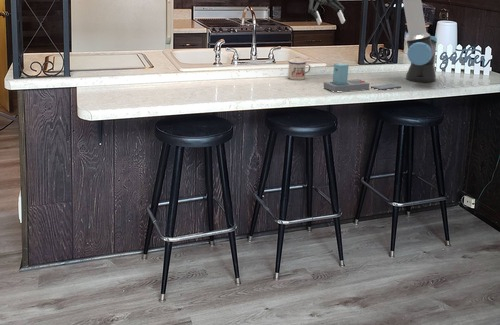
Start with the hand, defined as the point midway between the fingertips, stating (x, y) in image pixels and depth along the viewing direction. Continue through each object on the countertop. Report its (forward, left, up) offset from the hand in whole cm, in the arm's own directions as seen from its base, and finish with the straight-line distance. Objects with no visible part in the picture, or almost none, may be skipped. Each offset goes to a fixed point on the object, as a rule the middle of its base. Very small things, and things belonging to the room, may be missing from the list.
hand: (331, 22), depth 321 cm
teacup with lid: (+10, -12, -30) cm, 34 cm away
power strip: (0, +17, -30) cm, 34 cm away
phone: (-20, +22, -30) cm, 42 cm away
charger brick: (+4, +17, -28) cm, 33 cm away
